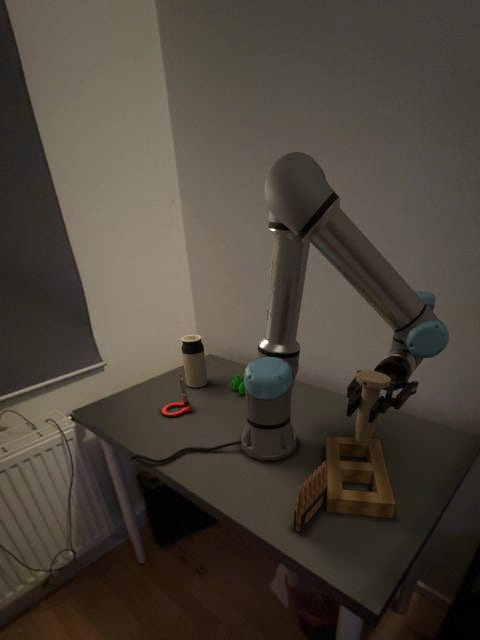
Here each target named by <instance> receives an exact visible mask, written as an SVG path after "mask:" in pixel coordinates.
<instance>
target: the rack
mask: <svg viewBox="0 0 480 640" xmlns="http://www.w3.org/2000/svg"><path fill="white" fill-rule="evenodd" d="M325 437H326V438H325V448H324V452H325V455H324V456H325V461H326V464H327V485H326V486H327V487H328V489H327V500H326V513H327V512H328V513H337V514H346V515H358V516H365V517H376V518H385V519H393V517H394V512H395V508H396V501H395V496H394V493H393V487H392V485H391V481H390V477H389V472H388V468H387V464H386V460H385V457H384V454H383V453H384V452H383V450H382V449H383V448H382V445H381V441H380V439H377V438H372V440H371V442H369V443H367V444H363V443H358V442H357V440H356V439H355V437H346V436H331V435H330V436H329V435H326V436H325ZM341 457H349V458H361V459H365V460H366V462H363V461H352V460H351V461H350V460H341ZM343 483H352V484H364V485H370V486H371V491H362V490H351V489H343Z"/></svg>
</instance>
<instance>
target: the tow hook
mask: <svg viewBox="0 0 480 640" xmlns="http://www.w3.org/2000/svg"><path fill="white" fill-rule="evenodd" d="M178 376H179V384H180V390H181V393H182V394H181V396H182V401H180V402H179V401H178V402H177V401H175V402H171V403H168V404H166V405H164V406H163V407H162V408H161V414H162V416H165V417H169V418H171V417H173V418H174V417H178V416H181V415H183V414H185V413H186V412H187V413H191V412H192V408H191V406H190V402H189V397H188V393H187V391H186V387H185V381H184V378H183V375H182V372H181V371H179V372H178ZM172 407H173V408H174V407H180V408H181V409H180V410H178V411H175V412H170V411H168V410H169V409H170V408H172Z"/></svg>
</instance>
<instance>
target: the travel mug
mask: <svg viewBox="0 0 480 640" xmlns="http://www.w3.org/2000/svg"><path fill="white" fill-rule="evenodd" d="M202 339H203V337H202V335H200V334H187V335H184V336H182V337H181V338H180V341H181V342H182V345H181V355H182V361H183V368H184V375H185V382H186V386H187V387H189V388H202V387H204V386H206V385H207V384H208V373H207V364H206V355H205V347H204V344H203V342H202Z"/></svg>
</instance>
